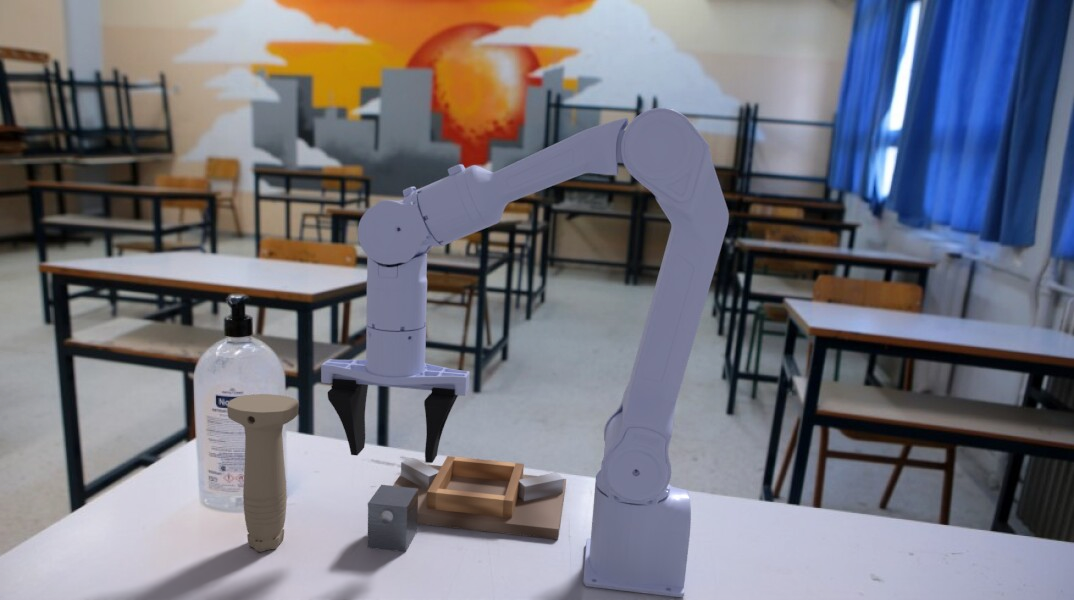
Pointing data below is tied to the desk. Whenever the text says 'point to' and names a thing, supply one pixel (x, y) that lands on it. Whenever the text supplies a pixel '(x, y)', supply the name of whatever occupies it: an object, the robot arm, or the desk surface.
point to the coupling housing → (485, 496)
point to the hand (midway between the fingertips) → (394, 455)
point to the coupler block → (392, 518)
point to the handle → (264, 464)
